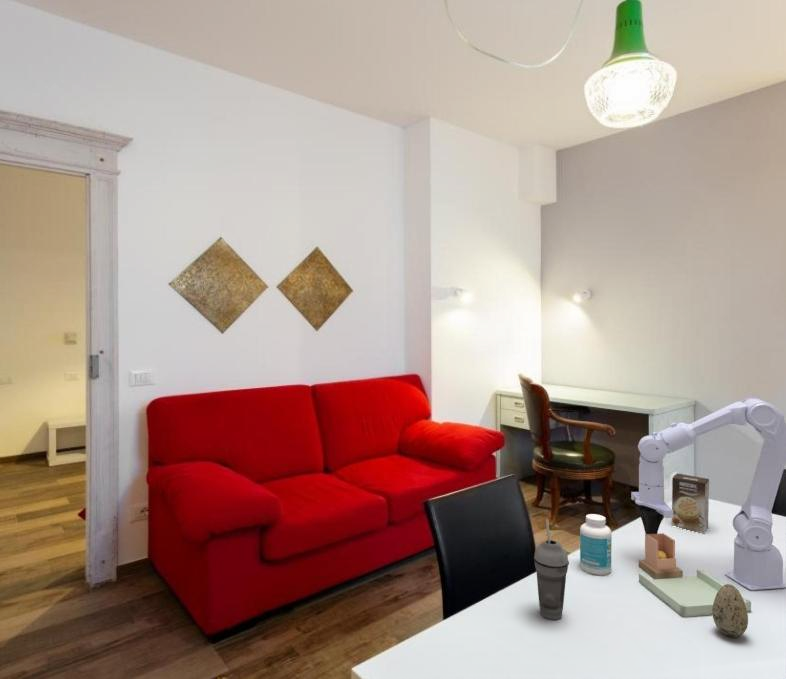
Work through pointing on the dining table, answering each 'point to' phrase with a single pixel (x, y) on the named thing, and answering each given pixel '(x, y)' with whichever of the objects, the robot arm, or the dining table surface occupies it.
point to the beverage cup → (551, 576)
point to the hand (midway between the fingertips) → (651, 536)
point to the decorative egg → (730, 611)
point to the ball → (661, 555)
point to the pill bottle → (595, 545)
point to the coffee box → (690, 502)
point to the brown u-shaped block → (660, 544)
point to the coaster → (662, 573)
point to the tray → (687, 593)
